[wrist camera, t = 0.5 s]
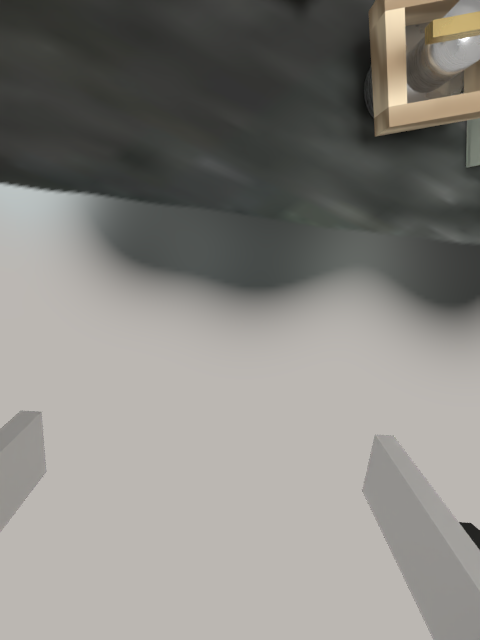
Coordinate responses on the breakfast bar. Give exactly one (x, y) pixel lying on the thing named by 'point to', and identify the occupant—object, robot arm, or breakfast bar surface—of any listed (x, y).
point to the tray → (473, 143)
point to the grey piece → (438, 54)
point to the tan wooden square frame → (390, 70)
